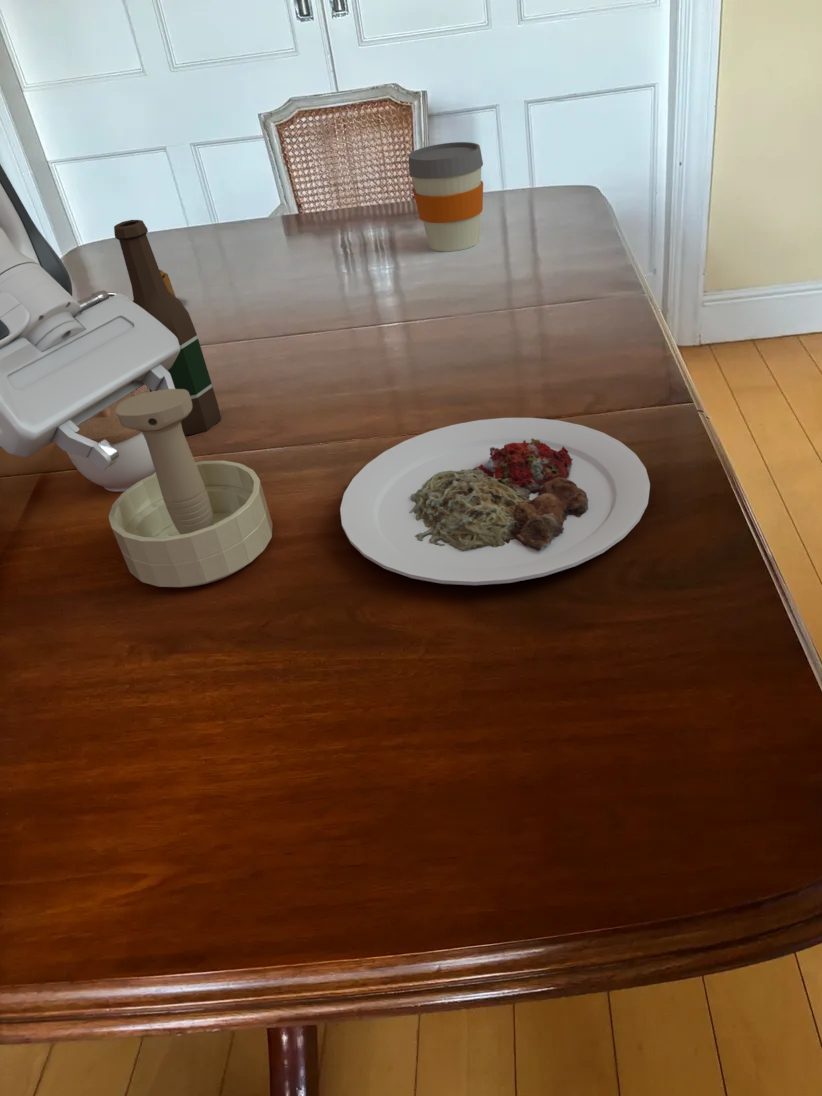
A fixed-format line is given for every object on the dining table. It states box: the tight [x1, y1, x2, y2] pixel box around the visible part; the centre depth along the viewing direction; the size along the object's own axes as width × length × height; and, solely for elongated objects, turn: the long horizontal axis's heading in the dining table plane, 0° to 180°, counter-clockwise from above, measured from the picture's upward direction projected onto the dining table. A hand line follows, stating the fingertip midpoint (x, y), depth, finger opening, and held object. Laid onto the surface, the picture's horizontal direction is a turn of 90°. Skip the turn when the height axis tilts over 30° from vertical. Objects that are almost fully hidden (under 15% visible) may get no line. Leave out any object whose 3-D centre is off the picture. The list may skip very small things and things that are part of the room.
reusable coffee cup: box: [408, 141, 484, 252], centre depth 154 cm, size 13×13×15 cm
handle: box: [116, 389, 214, 535], centre depth 83 cm, size 5×6×15 cm
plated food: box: [339, 417, 651, 586], centre depth 87 cm, size 30×30×3 cm
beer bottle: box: [113, 219, 222, 437], centre depth 105 cm, size 8×8×24 cm
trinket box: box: [66, 394, 156, 493], centre depth 99 cm, size 11×11×9 cm
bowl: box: [107, 460, 274, 588], centre depth 86 cm, size 14×14×6 cm
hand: (148, 437), depth 81 cm, fingers open, 8 cm apart
